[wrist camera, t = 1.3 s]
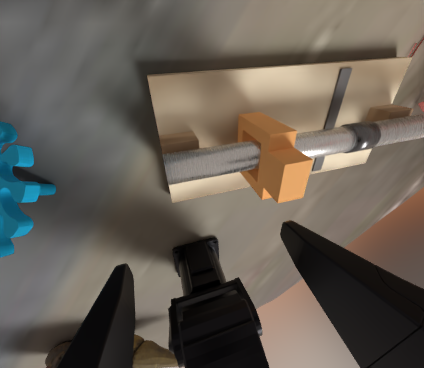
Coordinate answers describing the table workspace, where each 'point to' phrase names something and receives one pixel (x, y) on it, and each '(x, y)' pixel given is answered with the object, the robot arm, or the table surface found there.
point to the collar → (274, 158)
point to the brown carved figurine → (142, 355)
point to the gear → (15, 190)
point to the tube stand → (276, 118)
